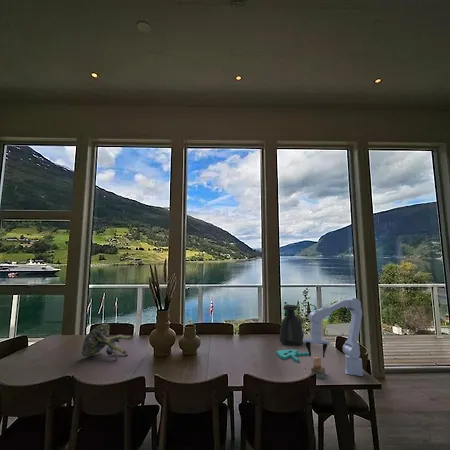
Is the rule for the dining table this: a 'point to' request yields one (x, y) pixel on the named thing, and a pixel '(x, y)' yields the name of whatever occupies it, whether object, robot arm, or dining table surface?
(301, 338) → the bottle
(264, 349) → the dining table surface
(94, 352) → the green textured branching piece
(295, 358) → the teal keys
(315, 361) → the terracotta cylinder
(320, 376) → the tower base slab
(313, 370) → the tower top slab
